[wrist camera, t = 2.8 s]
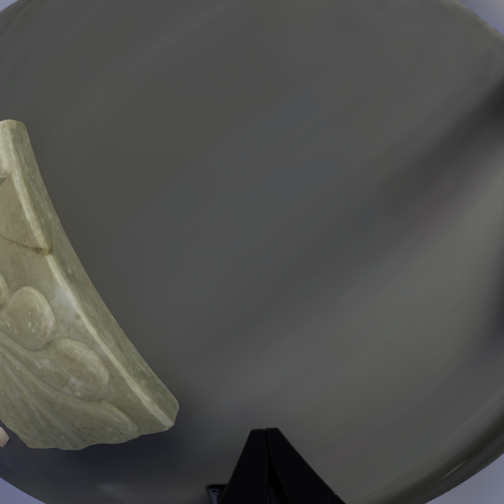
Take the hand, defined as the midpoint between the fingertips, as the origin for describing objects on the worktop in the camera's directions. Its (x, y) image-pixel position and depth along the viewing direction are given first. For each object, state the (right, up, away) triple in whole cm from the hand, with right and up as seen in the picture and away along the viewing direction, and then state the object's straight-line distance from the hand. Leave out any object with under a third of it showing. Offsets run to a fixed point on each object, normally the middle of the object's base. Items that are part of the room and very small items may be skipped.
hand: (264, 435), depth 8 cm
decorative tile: (-17, +1, +6) cm, 19 cm away
